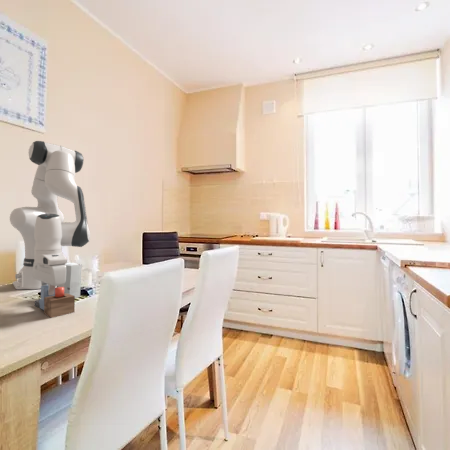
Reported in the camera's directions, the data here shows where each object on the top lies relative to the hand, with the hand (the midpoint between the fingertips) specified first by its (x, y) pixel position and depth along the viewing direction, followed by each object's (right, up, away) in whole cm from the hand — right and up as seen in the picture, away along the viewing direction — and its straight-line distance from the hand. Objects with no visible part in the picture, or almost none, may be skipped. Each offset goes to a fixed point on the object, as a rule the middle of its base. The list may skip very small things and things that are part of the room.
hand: (48, 293), depth 110 cm
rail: (-3, -6, +2) cm, 7 cm away
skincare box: (-2, -6, +18) cm, 19 cm away
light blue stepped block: (0, -6, 0) cm, 6 cm away
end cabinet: (+6, -7, -2) cm, 9 cm away
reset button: (+6, 0, -3) cm, 6 cm away
